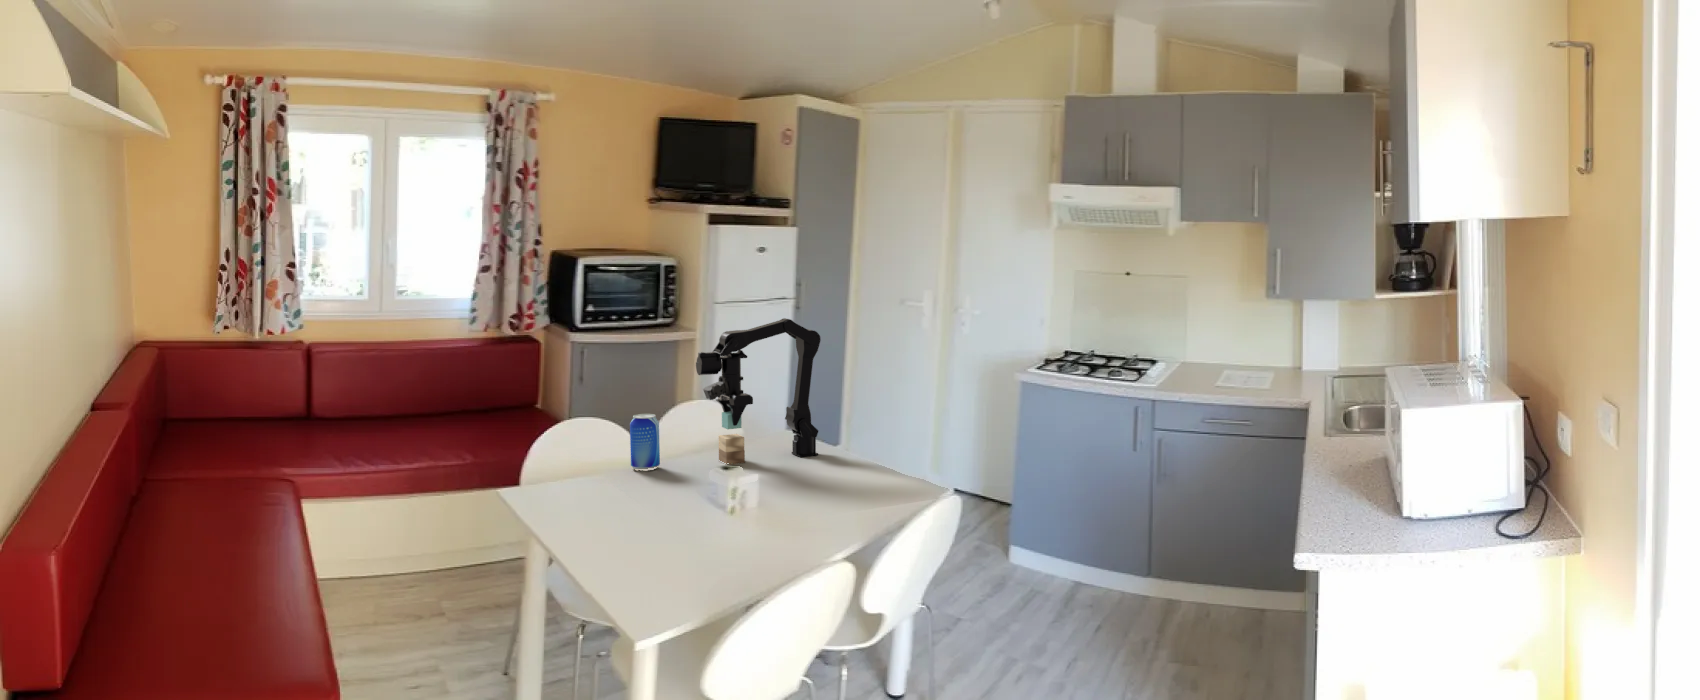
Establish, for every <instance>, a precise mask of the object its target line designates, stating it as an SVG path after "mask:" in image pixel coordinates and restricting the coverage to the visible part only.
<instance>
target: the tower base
mask: <svg viewBox="0 0 1700 700" xmlns="http://www.w3.org/2000/svg"><path fill="white" fill-rule="evenodd" d="M745 451H746V450H745V449H744V450H742V451H733V452H724V451H723V450H721V449H719V448H718V461H719V460H720V461H722V462H724V463H726V464H727V463H729V464H730V465H736V464H738V463H739V464H745V461H746V458H745V456H746V455H745ZM720 461H719V462H720ZM722 462H721V463H722ZM724 463H723V464H724ZM731 463H733V464H731ZM726 464H725V465H726Z"/></svg>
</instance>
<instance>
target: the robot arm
mask: <svg viewBox="0 0 1700 700" xmlns="http://www.w3.org/2000/svg"><path fill="white" fill-rule="evenodd" d="M785 333H786V334H788V335H789V337H791V338H793V339H794V340H795V348H796V351H797V356H798V358H797V360H798V361H797V369H796V377H795V378H796V379H795V388H794V396H793V402H792V404H791V406H787V407H786V408H785V410H786V412H785V413H786V414H785V418H784V420H786V425H787V426H788V428H790V430H791V431H792V434H794V435H793V440H792V451H791V454H792V455H795V456H797V457H799V458H804V457H812V456H819V453H818V452H817V448H816V447H817V439H816V438H817V437H818V434H819V430H818V428H817V427H815V426H814V425H813V424H812V413H811V410H810V406H809V405H810V404H809V401H810V392H811V383H812V373H813V365H814V358H815V357H816V356H817V355H816V354H817V353H818V352H819V347H820V344H821V341H822V340H821V335H820V334H819V333H818V331H817V330H814V329H809V328H806V327H804V326H802V325H800V324H798V323H796V322H794V320H792V319H790V318H785V317H783V318H781V319H779V320H776V321H773V322H768V323H766V324H762V325H759V326H756V327H751V328H748V329H741V330H740V329H739V330H738V329H736V330H729V331H728V330H726V331H724V332H722V333H721V334H720V337H719V341H718V343H717V344H716V346H715V347H714V349H713V350H712V351H710V352H703V351H699V352H698V353H697V357H696V362H695V369H696V370H695V371H696V374H697V375H698V376H706V375H718V374H719V372H721V375H719V377H718V381H717V382H714V383H712V384H710V385H707V386H705V387H703V388H702V390H703V392H704V396H705V399H709V400H710V401H711V400H712V401H713V400H715V402H717V403H718V404H719V405H720V406H721V408H722V411H723V412H731V414H732V422H733V425H734V426H736V425H737V424H738V422H739V420H740V417H741V418H742V415H743V413H744V411H745V408H746V407H747V406H748V405H753V404H754V398H753V396H752V395H751V394H748V393H747V392H746V393H744V390H743V389H742V381H744V377H743V376H742V371H741V369H742V368H741V367H742V366H741V365H742V364H741V361H742V360H741V359H747V358H748V355H747V354H745V352H744V351H743V349H745V348H747V347H748V346H750V344H753V343H755V342H757V341H761V340H764V339H768V338H772V337H775V336H779V335H781V334H785ZM716 398H717V399H716Z"/></svg>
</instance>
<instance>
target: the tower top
mask: <svg viewBox="0 0 1700 700" xmlns="http://www.w3.org/2000/svg"><path fill="white" fill-rule="evenodd" d="M719 449H721V450H723V451H724V452H733V451H742V450H745V437H744V436H743V435H740V434H738V433H731V434H721V435H718V450H719Z"/></svg>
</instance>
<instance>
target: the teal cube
mask: <svg viewBox="0 0 1700 700" xmlns="http://www.w3.org/2000/svg"><path fill="white" fill-rule="evenodd" d="M721 427H722V428H723V429H726V430H736V429H737V430H738V429H742V416H741V417H740V420H739V422H738V424H737V425H736V426H734V425H733V422H732V414H731V412H724V411H723V412H721Z"/></svg>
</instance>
